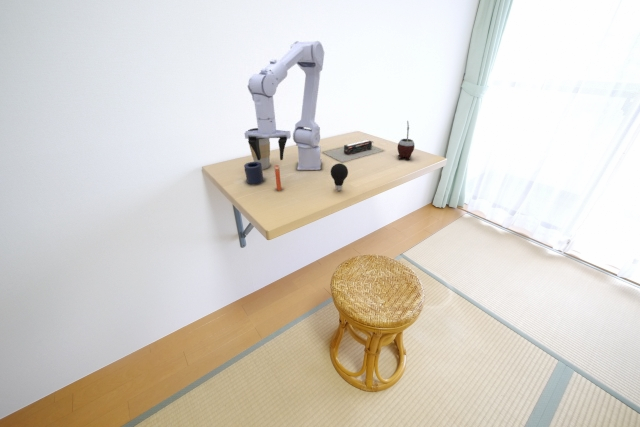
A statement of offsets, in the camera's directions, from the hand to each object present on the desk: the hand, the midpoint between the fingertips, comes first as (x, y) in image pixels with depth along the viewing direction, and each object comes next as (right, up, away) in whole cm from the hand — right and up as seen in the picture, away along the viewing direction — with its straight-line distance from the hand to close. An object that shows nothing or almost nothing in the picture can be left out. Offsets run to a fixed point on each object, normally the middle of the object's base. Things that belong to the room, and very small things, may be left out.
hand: (270, 159), depth 88 cm
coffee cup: (-8, +1, +21) cm, 23 cm away
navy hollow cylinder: (-8, -6, +9) cm, 14 cm away
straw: (+2, -10, +4) cm, 11 cm away
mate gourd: (+55, +7, +29) cm, 62 cm away
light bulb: (+23, -11, +3) cm, 26 cm away
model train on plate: (+33, +11, +36) cm, 50 cm away
